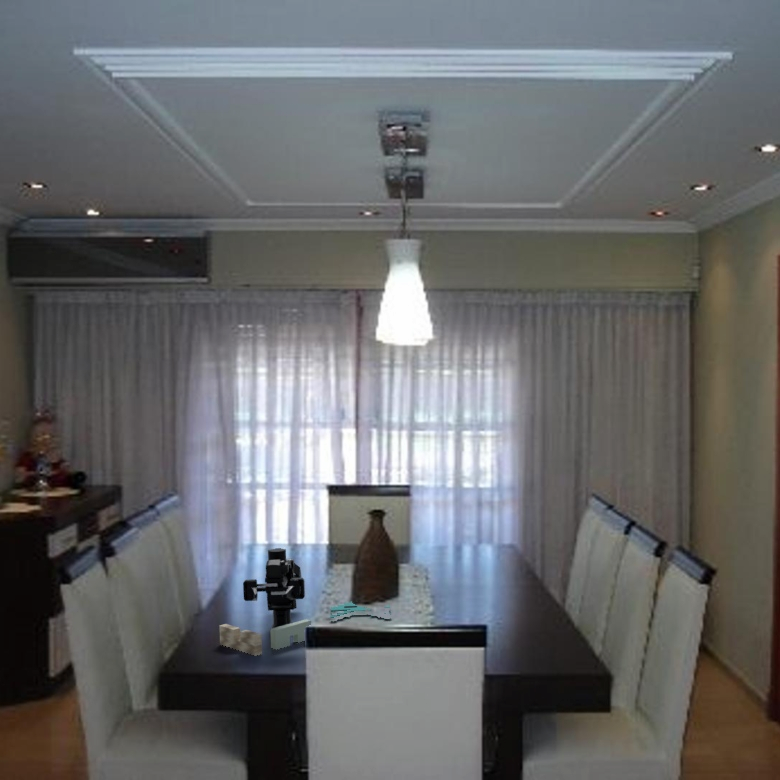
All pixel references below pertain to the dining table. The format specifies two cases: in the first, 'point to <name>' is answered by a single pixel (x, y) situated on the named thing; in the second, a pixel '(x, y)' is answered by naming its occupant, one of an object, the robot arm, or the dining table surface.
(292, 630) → the pale green slotted board
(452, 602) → the dining table surface
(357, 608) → the alien figure
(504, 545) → the dining table surface
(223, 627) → the birch slotted board
